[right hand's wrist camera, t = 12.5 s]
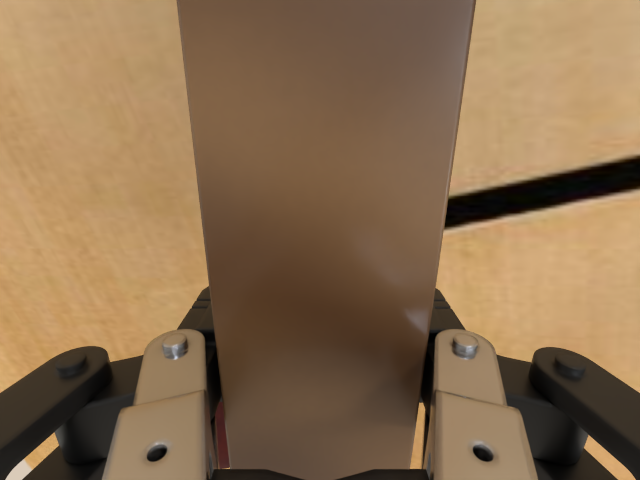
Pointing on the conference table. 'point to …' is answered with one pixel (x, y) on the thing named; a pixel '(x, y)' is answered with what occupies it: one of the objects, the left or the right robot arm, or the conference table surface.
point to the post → (323, 216)
